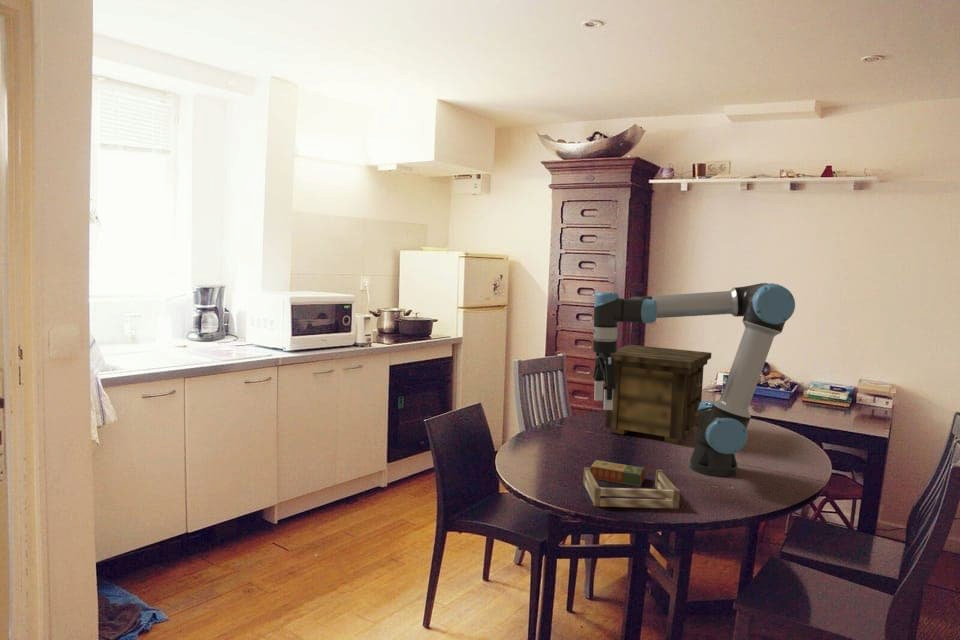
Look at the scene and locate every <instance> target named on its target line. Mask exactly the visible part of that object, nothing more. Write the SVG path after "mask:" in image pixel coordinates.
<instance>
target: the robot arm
mask: <svg viewBox="0 0 960 640" xmlns="http://www.w3.org/2000/svg"><path fill="white" fill-rule="evenodd" d="M593 302H594V303H593V305H594V307H593V329H592V330H591V333H593V339H594V340H593V341H592V351H593V352H594V353H595V363H594V368H593V370H594V371H593V376H592V377H593V380H594V395H593V398H594V399H593V400H594V401H599V402H600V401H601V402H603V410H604V411H606V410H613V390H614V389H615V388H616V386H615V375H614V358H611V355H610V354H611V353H615V352H616V351H617V348H618V341H617V339H618V331H619V330H618V323H637V324H639V323H640V324H647V323H649V324H653V323H655V322H656V321H657V319H661V318H665V319H666V318H679V317H680V318H682V317H697V316H699V317H701V316H717V315H719V316H720V315H732V316H733V317H742V320H741V321H742V323H743V325H744V331H743V333H742V336H741V339H740V341H739V344H738V348H737V350H736V353H735V356H734V359H733V361H732V363H731V364H732V365H731V367H730V370H729V373H728V375H727V378H726V380H725V381H726V382H725V384H724V387H723V390H722V392H721V394H720V395H721V396H720V397H719V399H718V400H717V401H715V400H714V401H710V400H709V401H707V400H703V401H702V400H701V402H700V404H699V409H698V426H697V427H696V428H697V430H696V431H697V433H696V445H695V447H694V449H693V452H692V454H691V456H690V459H689V468H690V470H691V469H692V470H693V471H695V472H697V473H700V474H705V475H708V476H715V477H732V476H735V475H736V474H738V462H737V458H736V454H735V453H737V452H739V451H741V450H742V449H743V448H744V447H745V446H746V444H747V441H748V431H747V430H748V425H749V423H750V421H751V418H752V415H751V413H750V411H749V408H750V405H751V402H752V399H753V397H754V393H755V391H756V388H757V385H758V383H759V380H760V377H761V374H762V372H763V369H764V366H765V364H766V360H767V358H768V355H769V352H770V349H771V347H772V344H773V341H774V339H775V337H776V336H777V335H781V333H783V329H784V327H785V324H786V322H787V321H788V320H789V319H790V318H791V317H792V316H793V314H794V312H795V309H796V301H795V298H794V296H793V294H792V292H791V291H790V290H789V289H788V288H786V287H785V286H783V285H780V284H778V283H773V282H772V283H767V282H760V283H755V284H750V285H747V286H745V285H744V286H738V287H737V286H735V287H731V289H730V290H723V291H709V292H695V293H694V292H693V293H680V294H679V293H676V294H664V295H650V296H649V295H648V296H636V295H635V296H631V297H630V298H629V297H628V298H621V297H619V293H618V292H614V291H598V292H596V293H595V295H594V301H593Z"/></svg>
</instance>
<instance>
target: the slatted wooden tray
mask: <svg viewBox="0 0 960 640" xmlns="http://www.w3.org/2000/svg"><path fill="white" fill-rule="evenodd" d="M654 480H655V483H654V485H655V488H636V487H635V488H631V487H630V488H629V487H626V488H625V487H601V486H599V485H598V482H597V481H596V479H594V477H593V475H592V473H591V472H590V467H587V466H586V467H583V480H582V481H583V486H584V487H585V489H586V491H587V493H588V495H589V497H590V499H591V501H592V505H593V507H599V508H600V507H608V508H609V507H613V508H614V507H615V508H643V509H644V508H645V509H673V510H675V509H676V510H679V509H680V495H681V490H680V489H679V488H677V487H676V486H675V485H674V484H673V483H672V482H671V481H670V479H669V478H668V477H667V476H666V474H665V473H664V472H663V470H662V469H655V479H654ZM612 497H613V498H612ZM614 497H615V498H614ZM617 497H619V498H617ZM621 497H623V498H621ZM624 497H625V498H624ZM629 497H630V498H629ZM647 498H648V499H647ZM649 498H650V499H649ZM651 498H652V499H651ZM653 498H659V499H653ZM660 498H661V499H660Z"/></svg>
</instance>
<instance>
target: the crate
mask: <svg viewBox="0 0 960 640" xmlns="http://www.w3.org/2000/svg"><path fill="white" fill-rule="evenodd" d="M610 355H611V358H614V375H615V386H616V388H615V389H614V390H613V410H605V426H604V427H605V428H608V429H612V434H613V433H614V434H619V435H625V434H627V433H628V431H629V432H637V433H643V434H648V435H654V436H659V437H664V440H663V441H664V442H666V443H672V444H676V445H677V444H678V443H679V442H681V441H682V440H683V439H685V437H686V434H687V433H691V432H692V431H693V429H694V428H695V427H698V409H699V404H700V402H702V400H703V398H702V396H703V383H704V382H703V381H704V380H703V379H704V367H705V366H706V365H708V361H709V360H711V359H712V352H710V351H709V352H708V351H696V350H687V349H677V348H667V347H666V348H665V347H657V346H647V345H645V346H644V345H635V344H628V345H624V346H621V347H617V351H616V352H615V353H611V354H610Z"/></svg>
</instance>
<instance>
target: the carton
mask: <svg viewBox="0 0 960 640" xmlns="http://www.w3.org/2000/svg"><path fill="white" fill-rule="evenodd" d="M589 468H590V472H591V473H592V475H593V477H594V479H595V480H600V481H604V482H612V483H616V484H622V485H623V484H624V485H629V486H635V487H642V485H643V482H644V480H645V478H646V476H645V475H646V468H645V467H642V466H641V467H640V466H635V465H628V464H623V463H616V462H610V461H603V460H597V459H596V460H595V461H593V463H592V464H591V465H590V467H589Z"/></svg>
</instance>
